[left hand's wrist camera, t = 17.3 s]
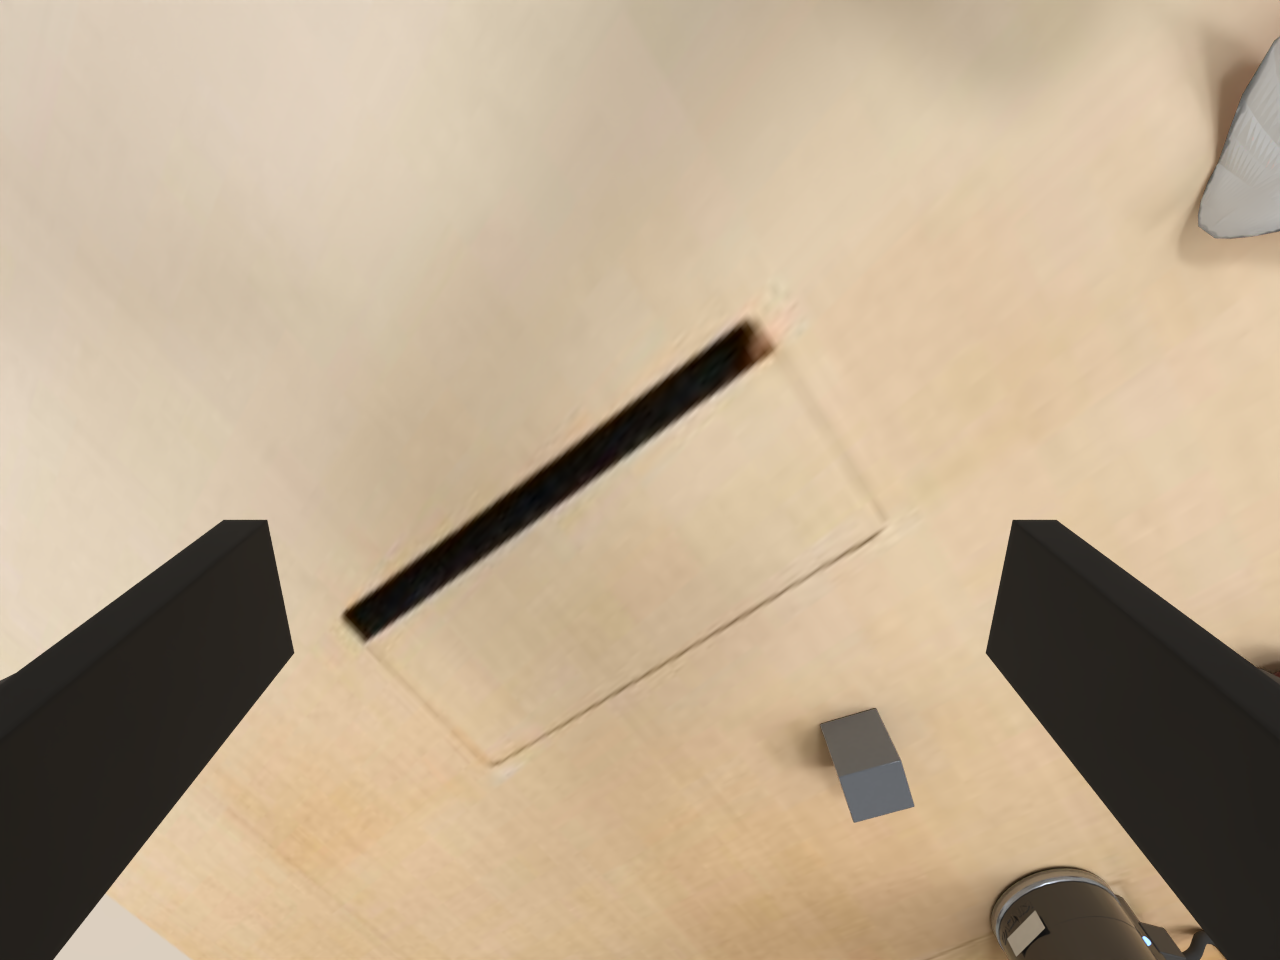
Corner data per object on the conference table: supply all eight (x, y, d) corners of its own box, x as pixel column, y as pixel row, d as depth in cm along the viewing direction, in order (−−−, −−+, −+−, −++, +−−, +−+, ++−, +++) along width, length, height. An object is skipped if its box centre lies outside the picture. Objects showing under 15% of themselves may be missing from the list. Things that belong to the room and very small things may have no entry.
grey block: (819, 723, 49) (838, 777, 44) (876, 707, 49) (901, 760, 44) (833, 766, 50) (853, 823, 46) (889, 751, 50) (914, 807, 45)
